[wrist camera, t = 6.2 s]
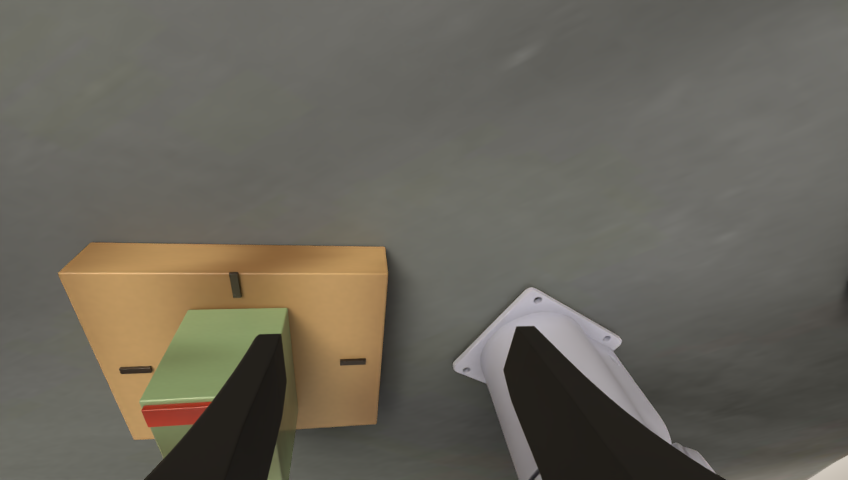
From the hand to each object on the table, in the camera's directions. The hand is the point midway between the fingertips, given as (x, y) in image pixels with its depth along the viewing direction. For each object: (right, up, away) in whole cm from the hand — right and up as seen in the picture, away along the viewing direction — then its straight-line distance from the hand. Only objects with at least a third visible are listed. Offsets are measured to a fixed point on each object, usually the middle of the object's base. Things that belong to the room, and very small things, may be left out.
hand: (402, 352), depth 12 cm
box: (-9, -3, +9) cm, 13 cm away
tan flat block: (-9, -2, +11) cm, 14 cm away
